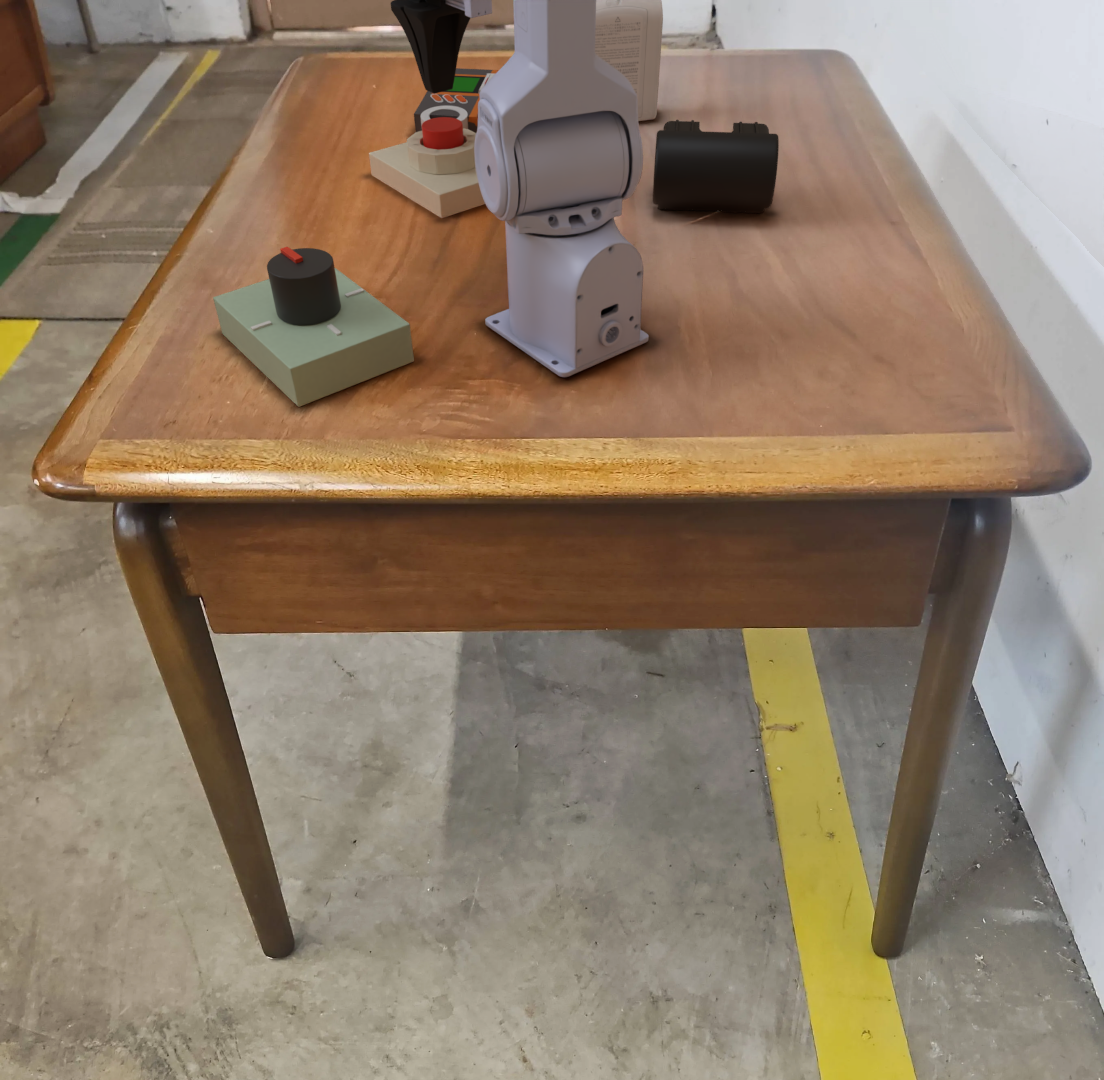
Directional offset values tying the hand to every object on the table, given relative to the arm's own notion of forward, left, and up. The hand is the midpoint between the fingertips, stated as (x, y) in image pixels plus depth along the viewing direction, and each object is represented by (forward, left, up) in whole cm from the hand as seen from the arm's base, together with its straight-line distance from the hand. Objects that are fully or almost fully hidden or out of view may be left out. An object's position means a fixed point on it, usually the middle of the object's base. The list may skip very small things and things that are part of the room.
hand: (439, 89), depth 88 cm
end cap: (-19, -15, -9) cm, 26 cm away
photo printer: (+3, -22, -9) cm, 24 cm away
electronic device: (+13, -10, -9) cm, 19 cm away
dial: (-18, +23, -5) cm, 30 cm away
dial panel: (-18, +23, -8) cm, 30 cm away
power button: (0, 0, -5) cm, 5 cm away
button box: (0, 0, -8) cm, 8 cm away
